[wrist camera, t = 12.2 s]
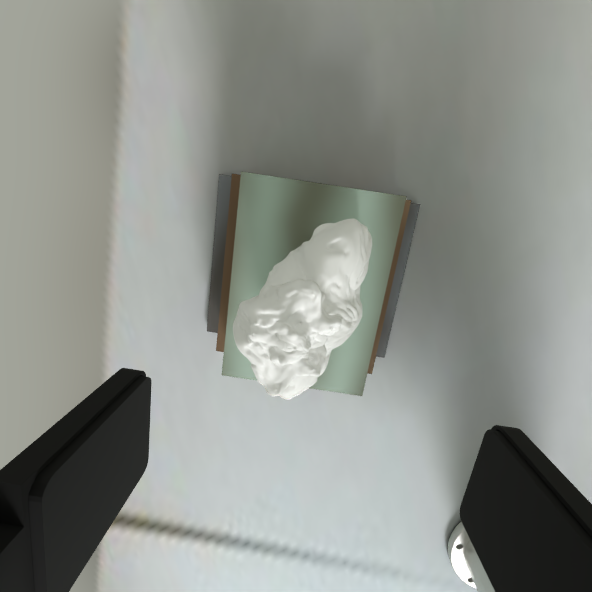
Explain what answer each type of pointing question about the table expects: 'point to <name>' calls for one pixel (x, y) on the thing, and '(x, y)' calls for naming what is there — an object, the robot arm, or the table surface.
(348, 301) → the bust
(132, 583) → the table surface
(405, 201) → the sage layered slab
